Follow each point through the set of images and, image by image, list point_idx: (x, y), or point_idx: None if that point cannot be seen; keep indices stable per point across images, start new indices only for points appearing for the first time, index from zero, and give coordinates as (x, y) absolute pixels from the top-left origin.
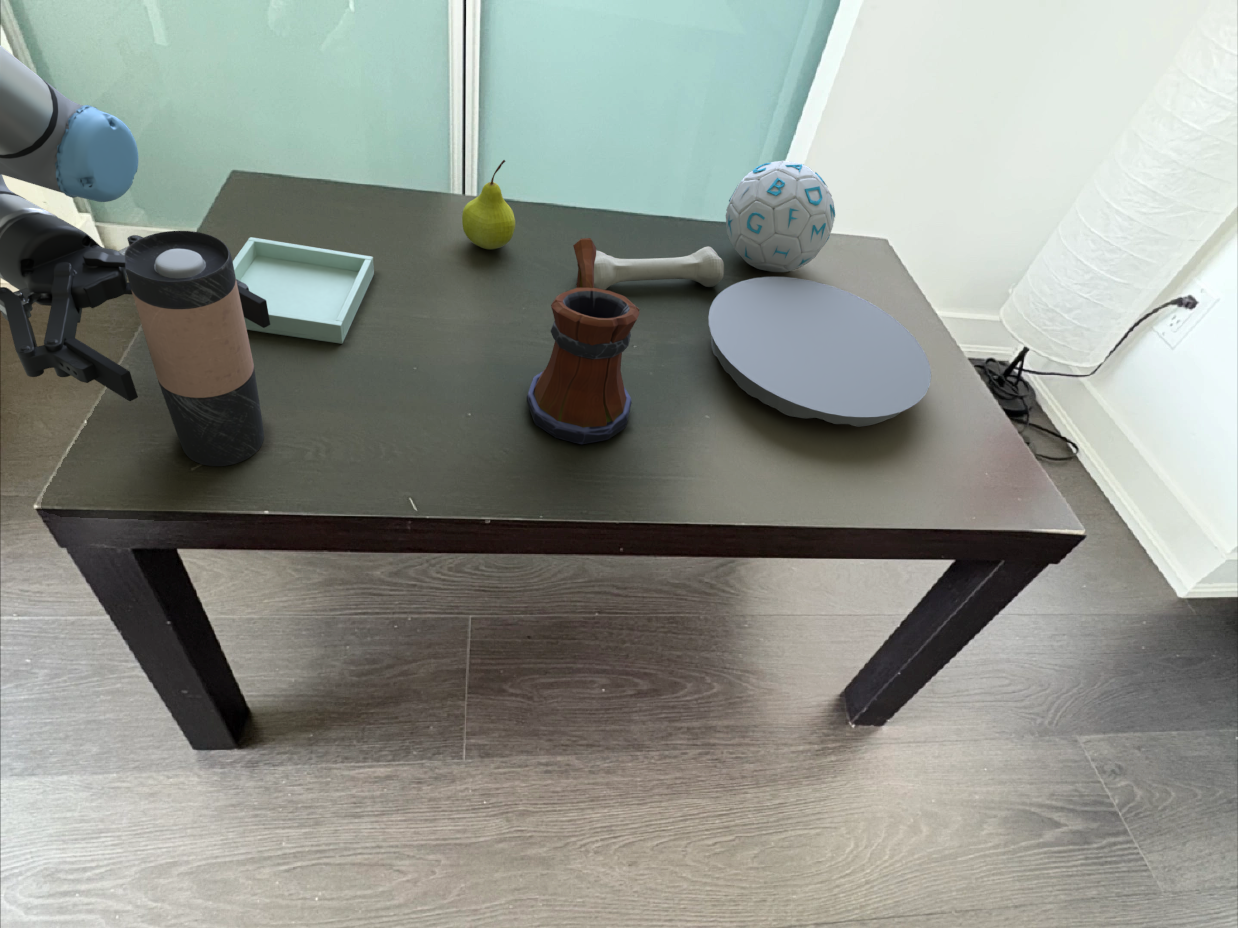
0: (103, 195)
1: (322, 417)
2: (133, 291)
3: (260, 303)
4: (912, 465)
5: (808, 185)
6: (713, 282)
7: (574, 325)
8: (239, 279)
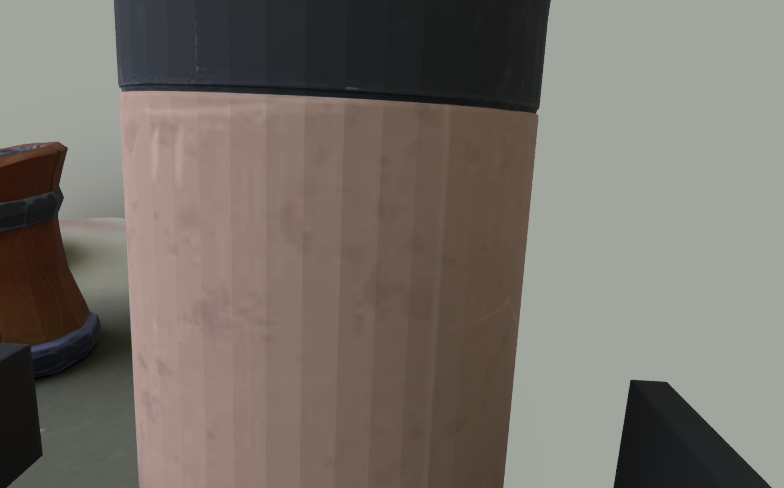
0: None
1: None
2: (540, 93)
3: (25, 345)
4: (69, 240)
5: None
6: None
7: (54, 161)
8: None
